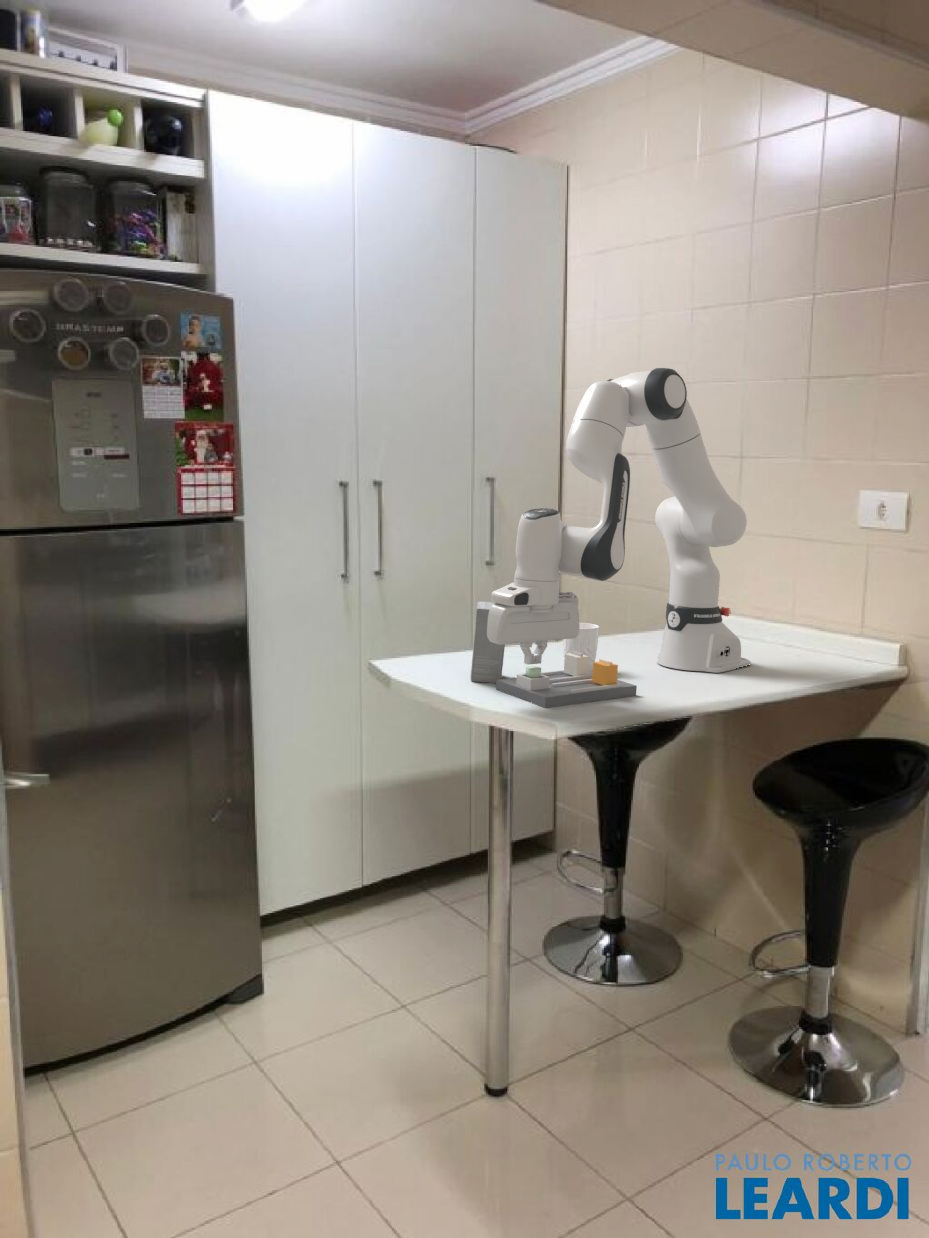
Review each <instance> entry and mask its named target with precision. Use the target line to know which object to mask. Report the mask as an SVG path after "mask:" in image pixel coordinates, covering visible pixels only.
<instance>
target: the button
mask: <svg viewBox="0 0 929 1238" xmlns="http://www.w3.org/2000/svg"><path fill="white" fill-rule="evenodd" d="M541 672H542V668H541V667H540V666H535V665H534V666H533V665H531V666H530V665H529V666H526V667H525V674H526V676H525V677H528V678H531V679H533V678H541Z"/></svg>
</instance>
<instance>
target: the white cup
mask: <svg viewBox="0 0 929 1238" xmlns="http://www.w3.org/2000/svg"><path fill="white" fill-rule="evenodd" d="M599 632H600V625H598V624H594V623H588V622H579V634H578V636H577V637H576V638H574V639H562V641H563V642H562V643H563V644H562V645H563V646H562V647H563V648H562V649H563V664H564V663H565V654H570V653H571V651H575V652H579V653H582V654H583V655H585V656H589V658H588V671H591V672H593V662H596V659H597V651H598V644H599Z"/></svg>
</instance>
